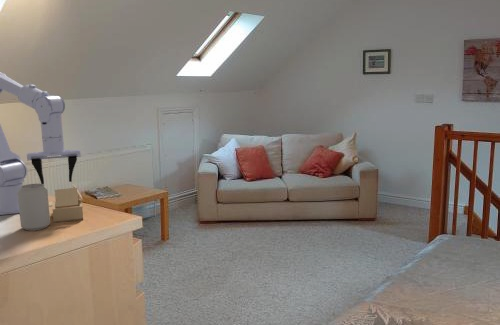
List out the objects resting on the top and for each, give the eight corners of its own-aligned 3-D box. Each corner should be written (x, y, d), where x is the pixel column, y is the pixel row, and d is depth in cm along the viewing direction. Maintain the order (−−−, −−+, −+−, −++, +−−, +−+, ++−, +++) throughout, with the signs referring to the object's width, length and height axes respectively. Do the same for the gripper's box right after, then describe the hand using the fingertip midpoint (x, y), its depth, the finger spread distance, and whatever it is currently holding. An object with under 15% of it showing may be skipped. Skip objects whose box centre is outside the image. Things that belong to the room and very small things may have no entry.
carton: (40, 211, 148) (39, 198, 147) (81, 207, 152) (80, 194, 152) (38, 224, 134) (36, 210, 133) (83, 219, 138) (82, 205, 138)
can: (39, 232, 127) (35, 188, 125) (15, 230, 129) (10, 187, 127) (56, 224, 135) (52, 182, 133) (32, 222, 136) (28, 182, 134)
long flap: (54, 190, 136) (54, 189, 136) (76, 188, 138) (76, 187, 138) (56, 206, 135) (56, 206, 135) (78, 204, 137) (78, 204, 137)
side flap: (72, 186, 140) (73, 186, 140) (72, 183, 145) (73, 183, 145) (81, 200, 142) (82, 200, 142) (81, 197, 146) (82, 196, 146)
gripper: (24, 139, 132) (28, 187, 135) (79, 136, 137) (82, 182, 140) (26, 137, 139) (30, 182, 141) (78, 134, 144) (82, 178, 146)
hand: (56, 182), depth 141 cm, fingers open, 7 cm apart
